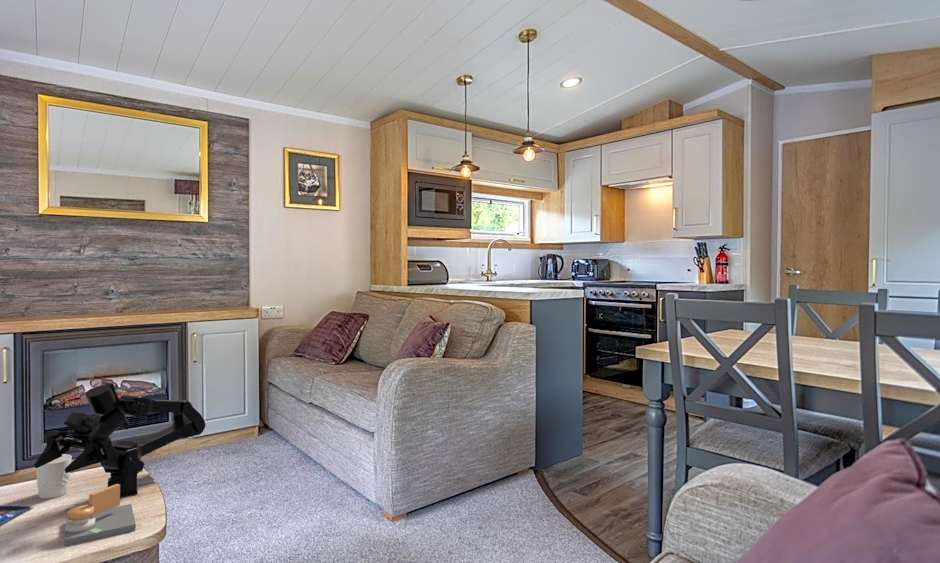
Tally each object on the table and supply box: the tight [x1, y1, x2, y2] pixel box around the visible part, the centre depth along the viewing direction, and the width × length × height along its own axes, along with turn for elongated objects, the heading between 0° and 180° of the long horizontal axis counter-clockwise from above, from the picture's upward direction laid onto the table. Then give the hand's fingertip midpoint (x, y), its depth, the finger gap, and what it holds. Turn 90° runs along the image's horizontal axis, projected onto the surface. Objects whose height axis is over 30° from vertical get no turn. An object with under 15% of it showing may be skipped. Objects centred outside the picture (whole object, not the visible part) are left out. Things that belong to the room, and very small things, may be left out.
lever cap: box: [66, 484, 121, 520], centre depth 130 cm, size 12×5×5 cm, turn 162°
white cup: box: [36, 453, 73, 500], centre depth 148 cm, size 8×8×10 cm
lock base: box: [64, 503, 137, 547], centre depth 130 cm, size 14×14×4 cm
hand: (50, 468), depth 129 cm, fingers open, 9 cm apart
